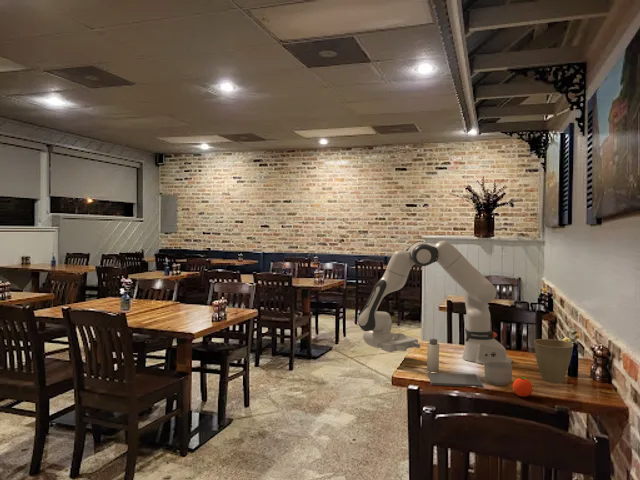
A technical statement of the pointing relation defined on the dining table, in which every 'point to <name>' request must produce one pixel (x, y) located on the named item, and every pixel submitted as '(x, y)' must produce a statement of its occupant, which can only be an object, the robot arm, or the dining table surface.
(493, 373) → the teacup
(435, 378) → the slate board
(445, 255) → the robot arm
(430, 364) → the pepper mill
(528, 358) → the dining table surface
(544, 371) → the plant pot
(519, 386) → the clementine
